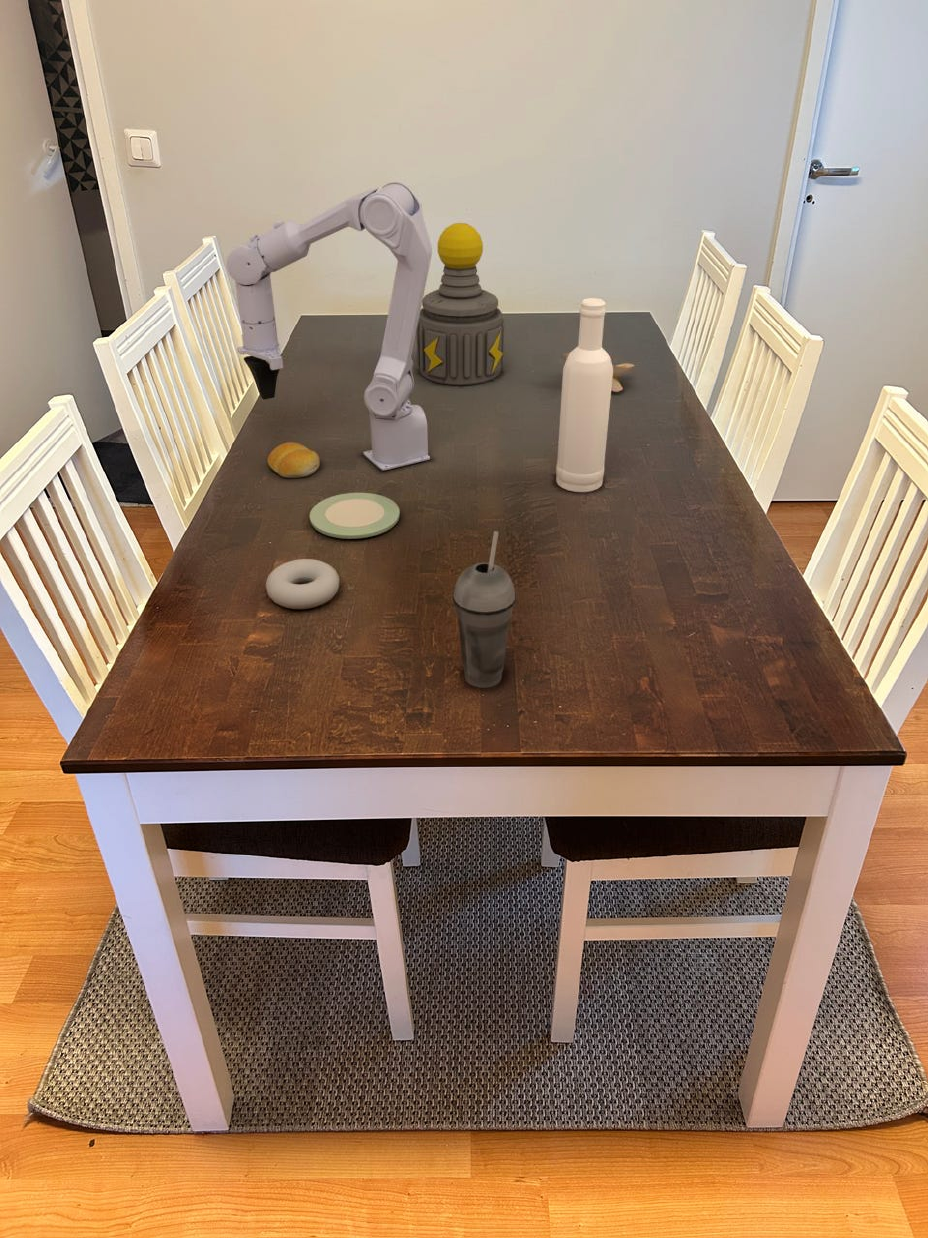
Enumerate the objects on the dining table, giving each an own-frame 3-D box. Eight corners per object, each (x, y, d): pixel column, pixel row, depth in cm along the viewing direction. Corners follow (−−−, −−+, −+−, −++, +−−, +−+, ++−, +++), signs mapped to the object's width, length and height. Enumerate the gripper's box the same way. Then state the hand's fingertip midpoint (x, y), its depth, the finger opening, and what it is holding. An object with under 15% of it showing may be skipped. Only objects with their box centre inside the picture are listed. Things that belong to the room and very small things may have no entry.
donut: (258, 586, 130) (280, 621, 122) (254, 565, 128) (277, 599, 120) (325, 569, 134) (351, 602, 126) (323, 548, 132) (349, 580, 124)
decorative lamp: (451, 351, 210) (450, 208, 193) (520, 368, 201) (526, 220, 184) (398, 374, 198) (392, 225, 181) (470, 394, 189) (471, 238, 172)
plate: (376, 491, 153) (376, 484, 153) (415, 527, 143) (415, 520, 143) (296, 511, 148) (295, 504, 147) (331, 550, 138) (331, 543, 137)
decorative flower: (650, 374, 193) (647, 330, 186) (627, 404, 187) (623, 359, 180) (585, 366, 200) (580, 323, 193) (561, 393, 194) (555, 350, 187)
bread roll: (289, 484, 156) (286, 462, 153) (261, 466, 161) (259, 445, 159) (330, 470, 160) (328, 448, 158) (302, 453, 166) (300, 432, 163)
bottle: (612, 481, 156) (630, 300, 139) (584, 497, 152) (599, 311, 134) (574, 467, 161) (587, 290, 144) (545, 482, 156) (556, 300, 139)
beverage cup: (451, 659, 116) (449, 517, 104) (509, 656, 116) (514, 515, 105) (455, 696, 110) (454, 550, 98) (516, 693, 110) (522, 547, 99)
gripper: (220, 311, 158) (232, 388, 166) (249, 334, 148) (260, 415, 155) (260, 305, 161) (269, 381, 169) (291, 328, 151) (299, 407, 158)
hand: (267, 397), depth 162 cm, fingers closed
